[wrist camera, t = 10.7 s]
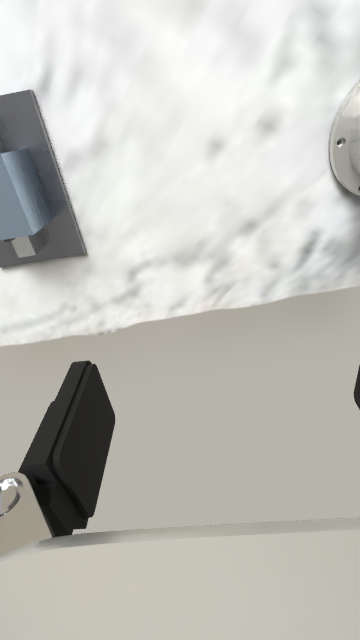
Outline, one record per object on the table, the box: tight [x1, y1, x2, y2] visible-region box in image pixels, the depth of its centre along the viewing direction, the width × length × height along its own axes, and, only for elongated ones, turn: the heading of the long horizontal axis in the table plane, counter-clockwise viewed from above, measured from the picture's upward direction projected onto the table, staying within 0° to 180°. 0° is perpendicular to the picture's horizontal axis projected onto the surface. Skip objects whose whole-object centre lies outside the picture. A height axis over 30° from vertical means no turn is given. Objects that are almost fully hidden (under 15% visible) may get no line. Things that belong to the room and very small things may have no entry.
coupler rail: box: [0, 90, 86, 267], centre depth 33 cm, size 11×16×3 cm
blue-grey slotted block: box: [0, 148, 53, 242], centre depth 31 cm, size 6×7×6 cm
